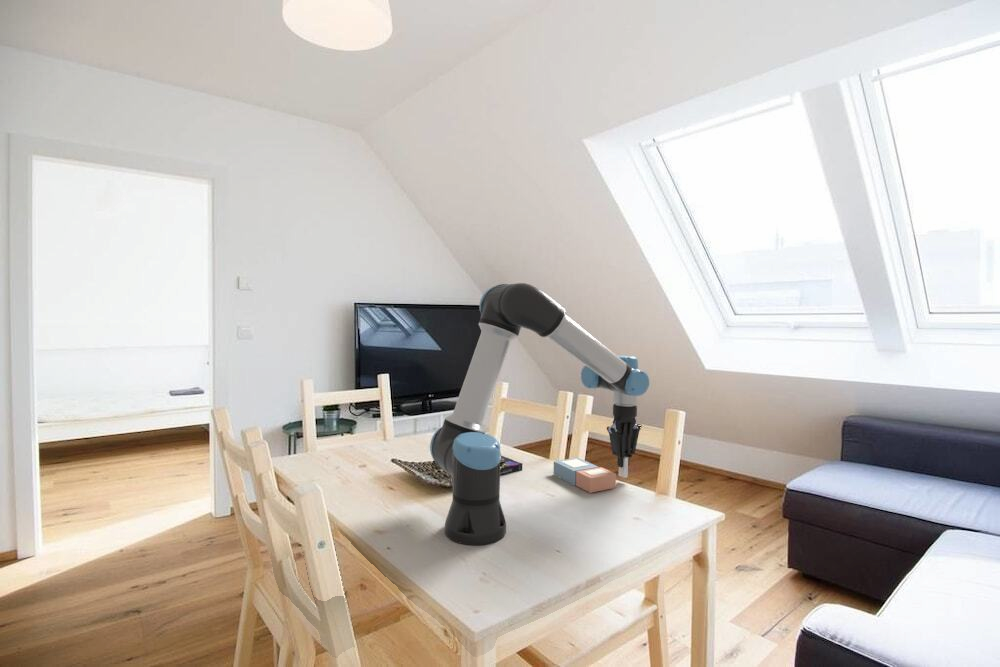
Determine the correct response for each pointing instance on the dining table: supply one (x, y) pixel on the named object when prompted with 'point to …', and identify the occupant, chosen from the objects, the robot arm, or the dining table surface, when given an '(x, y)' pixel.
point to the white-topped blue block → (571, 468)
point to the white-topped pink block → (595, 479)
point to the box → (510, 466)
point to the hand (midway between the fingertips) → (623, 476)
